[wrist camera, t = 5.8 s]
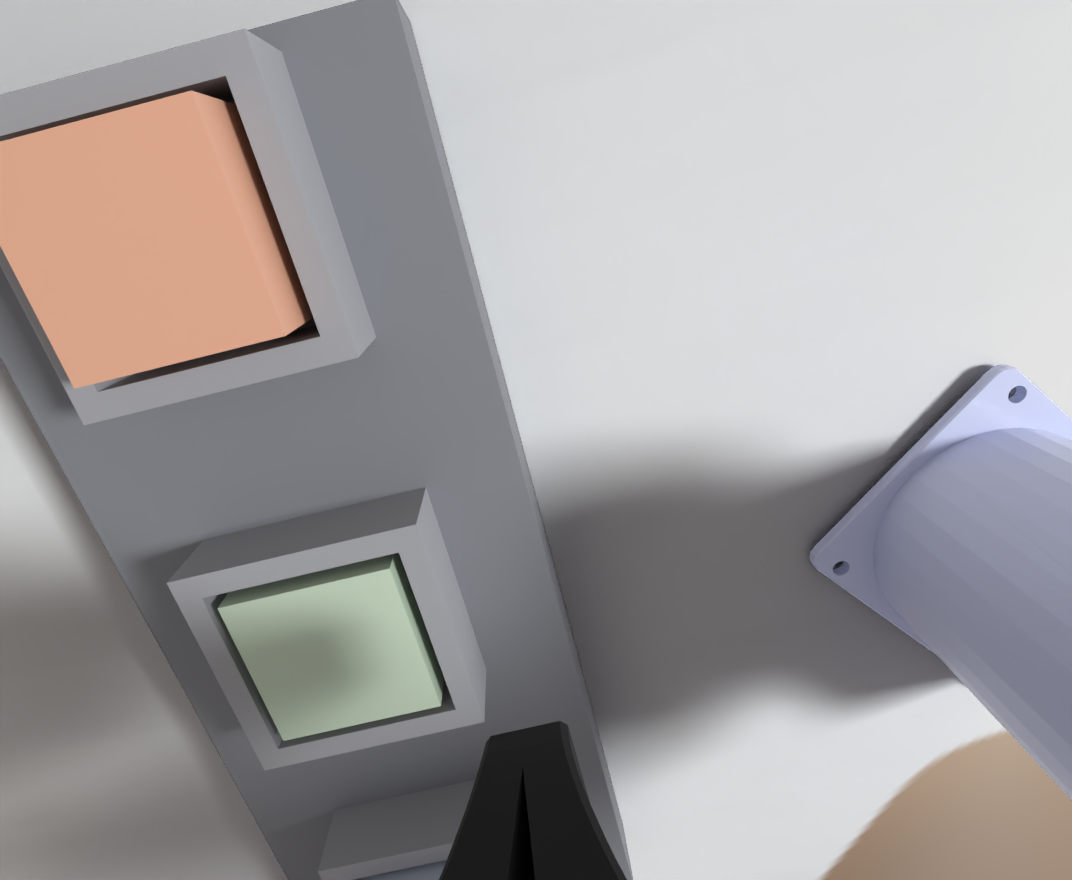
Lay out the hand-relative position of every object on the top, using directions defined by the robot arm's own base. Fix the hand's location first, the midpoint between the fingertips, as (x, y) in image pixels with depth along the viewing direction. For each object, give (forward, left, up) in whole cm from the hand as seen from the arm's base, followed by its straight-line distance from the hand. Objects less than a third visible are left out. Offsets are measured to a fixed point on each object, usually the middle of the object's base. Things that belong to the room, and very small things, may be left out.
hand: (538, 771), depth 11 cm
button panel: (+3, +4, -9) cm, 11 cm away
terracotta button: (+11, -2, -6) cm, 12 cm away
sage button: (+3, +4, -7) cm, 8 cm away
